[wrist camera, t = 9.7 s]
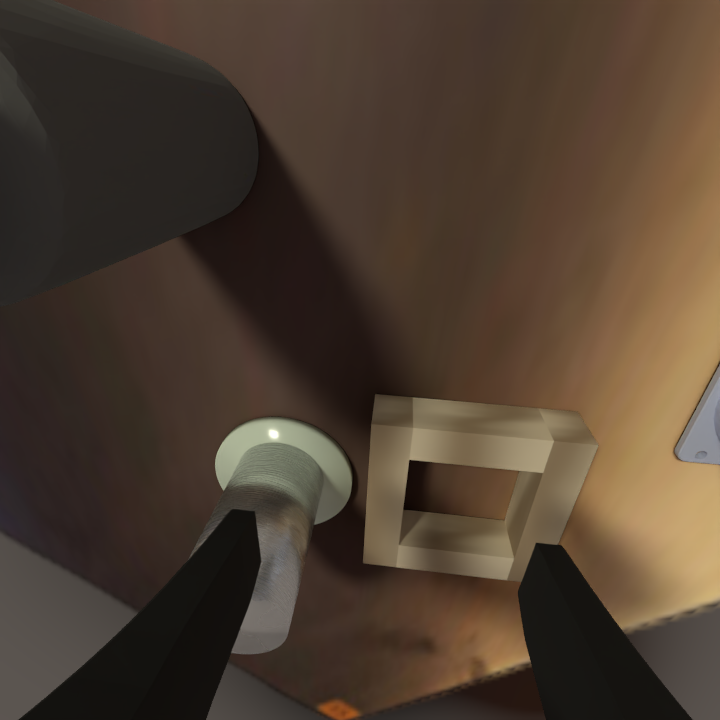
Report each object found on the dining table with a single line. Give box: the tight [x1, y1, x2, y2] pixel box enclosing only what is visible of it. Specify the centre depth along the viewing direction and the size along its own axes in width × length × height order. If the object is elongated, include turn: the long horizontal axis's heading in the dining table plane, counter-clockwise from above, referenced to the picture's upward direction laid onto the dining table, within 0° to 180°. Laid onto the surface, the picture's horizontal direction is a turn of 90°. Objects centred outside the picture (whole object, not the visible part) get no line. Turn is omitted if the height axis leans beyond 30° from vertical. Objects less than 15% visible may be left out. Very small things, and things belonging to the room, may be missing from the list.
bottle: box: [0, 0, 259, 306], centre depth 10 cm, size 6×6×15 cm
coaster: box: [215, 417, 353, 525], centre depth 24 cm, size 8×8×1 cm
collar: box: [363, 394, 599, 582], centre depth 22 cm, size 10×10×2 cm
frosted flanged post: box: [189, 442, 324, 654], centre depth 20 cm, size 5×5×8 cm
